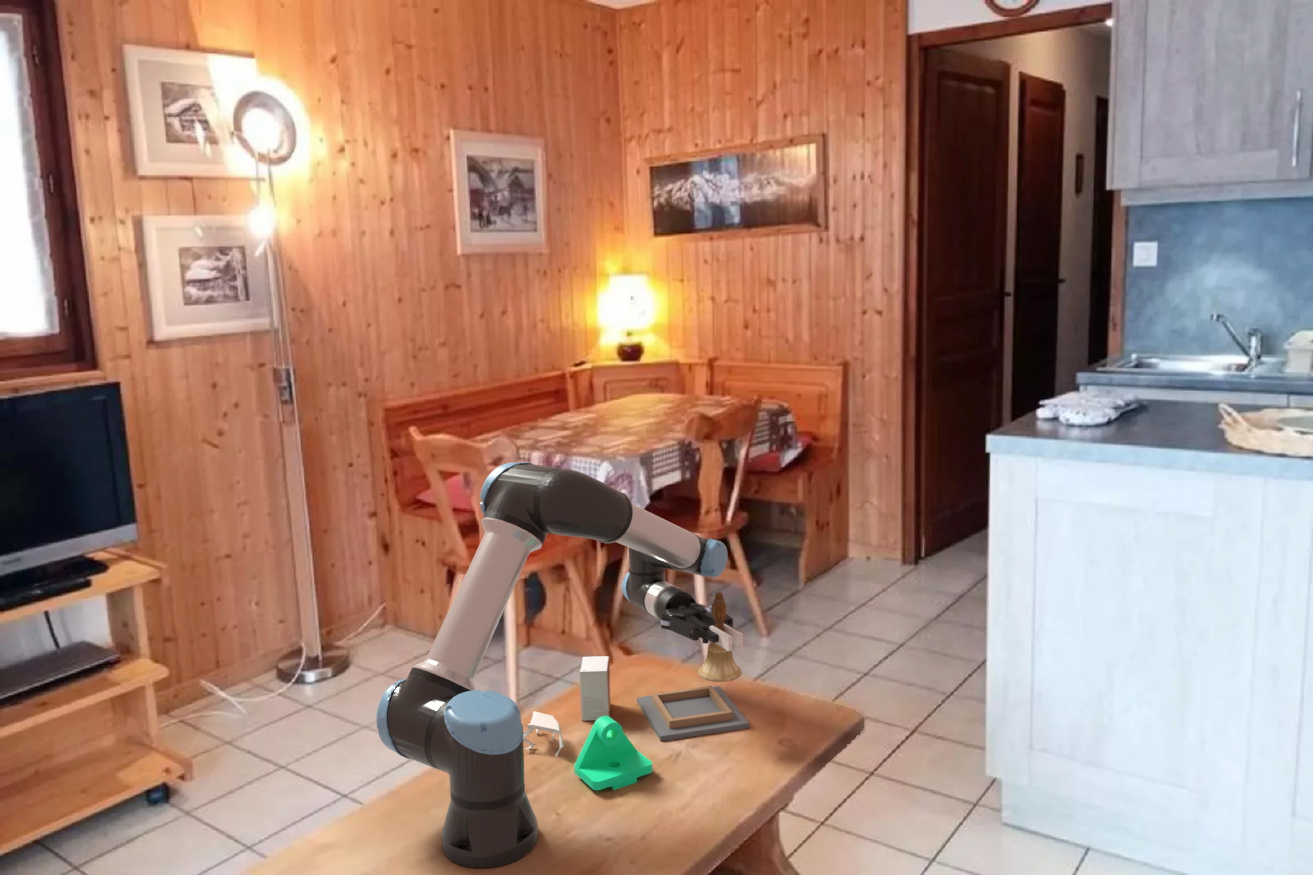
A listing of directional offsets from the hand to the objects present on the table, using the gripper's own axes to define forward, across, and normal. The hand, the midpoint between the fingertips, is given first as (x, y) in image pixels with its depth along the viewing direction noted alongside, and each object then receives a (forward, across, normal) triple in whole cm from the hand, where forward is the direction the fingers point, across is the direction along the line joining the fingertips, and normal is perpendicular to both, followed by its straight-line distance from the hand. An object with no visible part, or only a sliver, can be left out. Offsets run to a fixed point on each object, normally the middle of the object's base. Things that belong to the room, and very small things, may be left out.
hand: (735, 642), depth 190 cm
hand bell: (-6, 0, -8) cm, 10 cm away
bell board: (-16, 0, -21) cm, 26 cm away
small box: (-27, +16, -21) cm, 38 cm away
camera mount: (-2, +25, -21) cm, 32 cm away
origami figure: (-19, +30, -21) cm, 42 cm away
